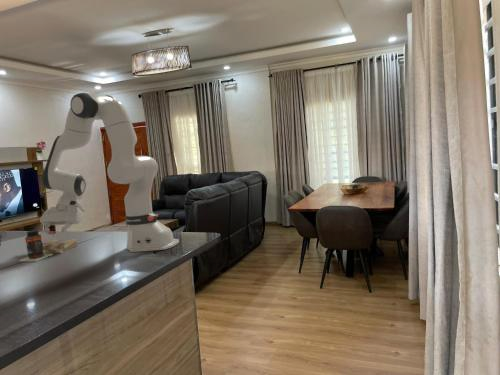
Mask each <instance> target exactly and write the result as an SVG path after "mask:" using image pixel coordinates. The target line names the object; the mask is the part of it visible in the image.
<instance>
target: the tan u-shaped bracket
mask: <svg viewBox="0 0 500 375" xmlns="http://www.w3.org/2000/svg"><path fill="white" fill-rule="evenodd" d="M42 244H43V250H44V254H61V253H65V252H66V251H69V250H71V249H73V248H74V249H75V248H77V247H78V243H77V239H76V238H70V239H68V240H66V241H62V242H60V243H59V240H58V239H51V240H49V241H46V242H45V241H44V242H42Z"/></svg>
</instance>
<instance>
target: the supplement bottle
mask: <svg viewBox="0 0 500 375" xmlns="http://www.w3.org/2000/svg"><path fill="white" fill-rule="evenodd" d="M38 231H39V230H38V229H33V230H32V229H31V230H27V232H26V234H27V235H26V237H25V245H26V251H27V257H29V258H31V259H33V258H39V257H42V256H43V255H44V254H45V253H44V250H43V244H42V243H43V238H42V235H41V234H39V232H38Z"/></svg>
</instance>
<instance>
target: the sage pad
mask: <svg viewBox="0 0 500 375" xmlns="http://www.w3.org/2000/svg"><path fill="white" fill-rule="evenodd" d="M53 255H54V253H44V255H43V256H42V257H39V258H33V259H31V258H29V257H28V256H26V257H24V258H21V259H19V260H18V262H39V261H41V260H44V259H47V258H48V256H49V257H50V256H53Z"/></svg>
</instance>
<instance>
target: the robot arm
mask: <svg viewBox="0 0 500 375" xmlns="http://www.w3.org/2000/svg"><path fill="white" fill-rule="evenodd" d="M69 106H70V108H69V110H68V112H67V116H66V119H65V126H64V130H63V133H62V134H60V135H58V136H57V137H55V139H54V141H53V143H52V146H51V149H50V152H49V155H48V157H47V161H46V163H45V166H44V169H43V171H42V173H41V175H40V183H41V185H42V186H43V188H44V189H46V190H55V191H58V192H62V194H61V196H60V197H59V199H58V201H57V203H56V205H55V206H51V207H50V208H47V209H46V210H45V211H44V212H43V213H42V216H41V217H40V218H39V222H40V223H41V224H42V225H43V226H44V229H43V233H46V234H47V233H48V234H49V233H50V231H51V230H50V228H49V227H51V226H61V225H62V228H61V229H60V231H61V232H62V233H66V232H67V230H68V229H70V228H71V227H72V225H79V224H81V221H82V220H83V217H84V213H85V212H86V208H85V207H84V206H83V204H81V203H80V201H81V200H82V198H83V196H84V193H85V190H86V188H87V180H86V179H85V178H84V177H83V176H82V174H80V173H76V172H71V171H67V170H62V169H59V168H58V165H59V163H60V159H61V156H62V154H63V152H65V151H67V150H76V149H80V148H84V147H85V146H87V145H88V143H90V140H91V137H92V131H93V124H94V122H95V120H97V121H98V120H100V121H101V120H102V122H103V126H104V129H105V131H106V134H107V137H108V138H107V139H108V140H109V144H110V147H111V148H110V149H111V160H110V162H109V163H108V166H107V170H106V172H107V176H108V178H109V179H110V181H111V182H113V183H114V184H121V185H127V184H128V185H129V187H128V190H127V193H125V196H124V199H123V200H124V202H123V203H124V208H125V216H124V217H125V224H126V228H127V229H126V230H127V236H126V237H127V241H126V250H128V251H129V252H130V253H135V252H136V253H137V252H150V251H161V250H162V251H163V250H167V249H168V250H169V249H171V248H172V247H173V248H174V247H175V246H176V245H178V244H179V243H180V239H179V238H174V234H173V231H172V230H171V228H170V227H168V226H166V225H164V224H163V223H161V222H160V221H159V220H158V217H159V213H157V214H156V213H155V212H153V206H152V204H153V203H152V189H153V188H152V187H153V182H154V179H155V177H156V175H157V174H158V171H159V164H158V162H157V161H156V159H155V158H153V157H151V156H148V155H136V153H135V146H136V144H137V143H138V137H137V134H136V131H135V127H134V125H133V123H132V120H131V117H130V114H129V113H128V111H127V109H126V107H125V105H124V104H123V103H122V102H120V101H118V99H117V98H115V97H113V96H112V95H107V94H105V95H104V94H100V93H96V92H95V93H92V92H79V93H76V94H74V95H73V96H72V97H71V99H70V104H69ZM63 225H64V226H63Z"/></svg>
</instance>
